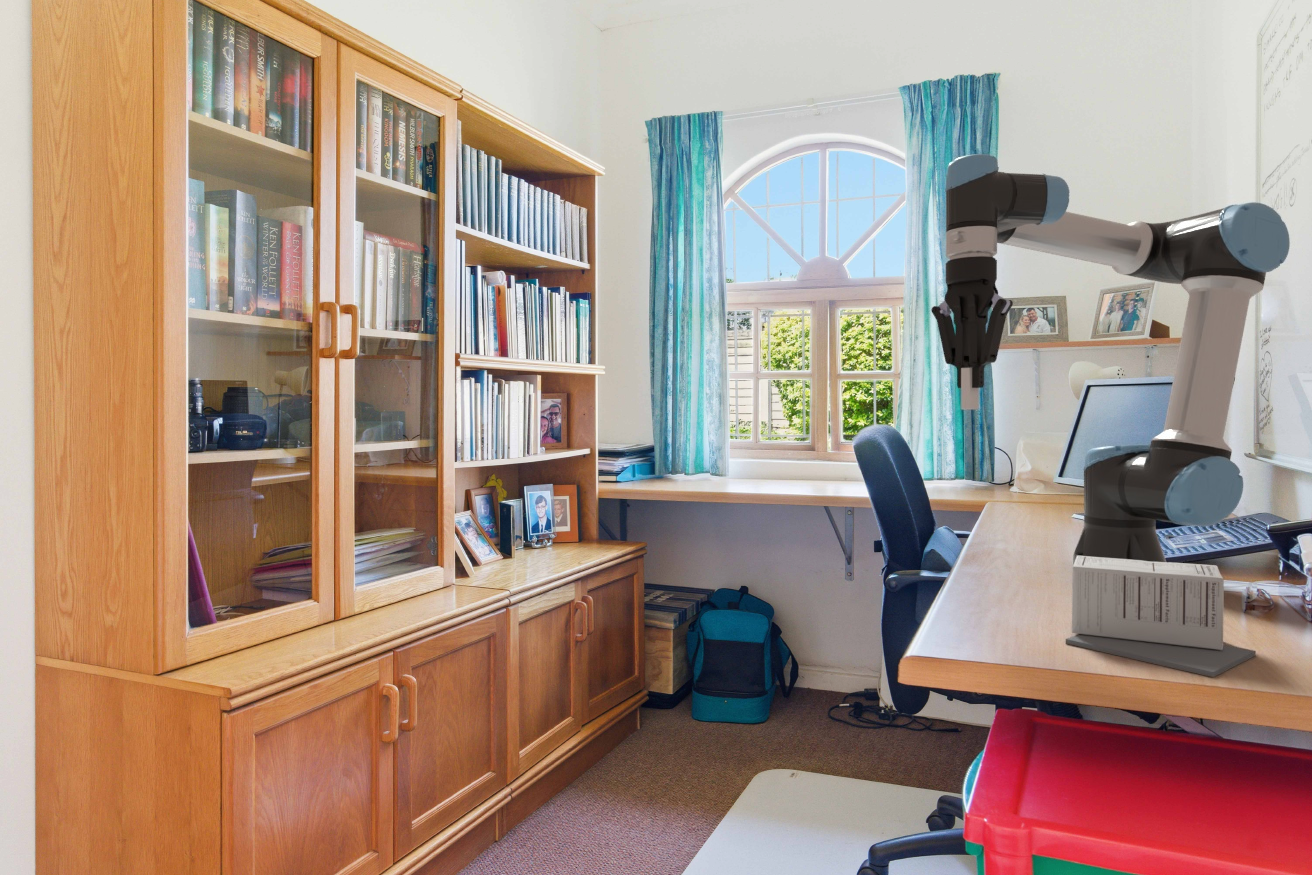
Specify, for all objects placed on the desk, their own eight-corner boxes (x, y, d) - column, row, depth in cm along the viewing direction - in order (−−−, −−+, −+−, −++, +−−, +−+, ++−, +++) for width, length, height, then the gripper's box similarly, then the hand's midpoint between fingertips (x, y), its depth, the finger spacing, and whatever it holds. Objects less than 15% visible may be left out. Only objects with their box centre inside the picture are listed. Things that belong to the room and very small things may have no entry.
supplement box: (1070, 634, 111) (1223, 652, 102) (1071, 565, 110) (1225, 578, 102) (1076, 618, 119) (1218, 633, 110) (1076, 553, 119) (1219, 564, 110)
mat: (1112, 626, 116) (1112, 622, 116) (1255, 655, 103) (1255, 650, 103) (1065, 643, 109) (1065, 638, 109) (1213, 677, 95) (1213, 671, 95)
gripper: (920, 262, 133) (920, 409, 134) (996, 250, 123) (995, 409, 124) (948, 266, 138) (947, 408, 139) (1023, 254, 127) (1022, 409, 128)
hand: (970, 409), depth 131 cm, fingers closed
